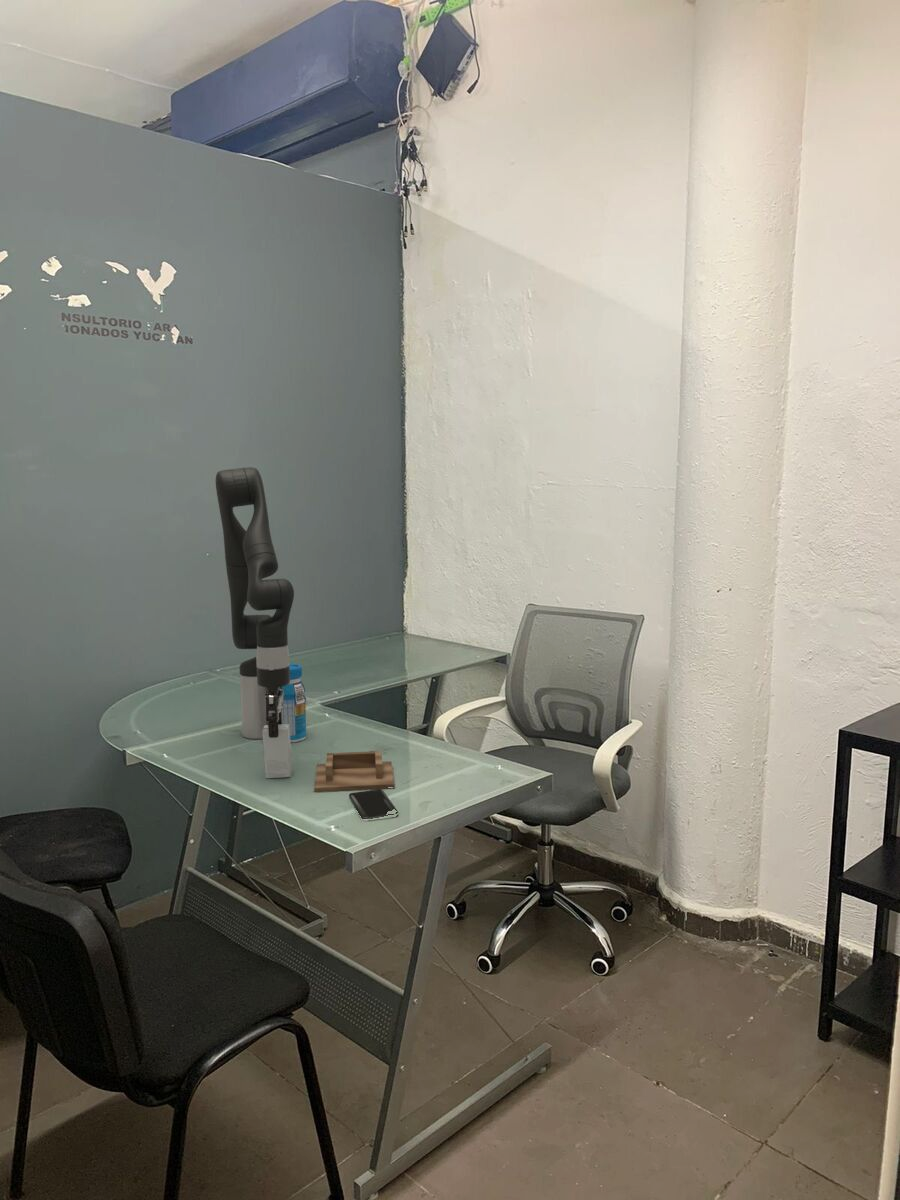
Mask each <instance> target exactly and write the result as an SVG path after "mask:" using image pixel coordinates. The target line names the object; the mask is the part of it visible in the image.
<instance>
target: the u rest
mask: <svg viewBox="0 0 900 1200" xmlns="http://www.w3.org/2000/svg"><path fill="white" fill-rule="evenodd" d="M325 759H326V760H325V763H320V764H319V763H318V764H316V772H315V778H314V787H313V788H314V789H313V791H314V793H321V792H323V793H326V792H345V791H349V792H350V791H368V790H367V789H371V790H380V789H379V788H388V787H394V788H395V781H394V779H395V778H394V771H393V764H392V761H391V760H389V761H387V760H386V761H383V757H382V750H376V751H375V750H374V751H355V752H354V751H351V752H350V751H349V752H329V753H328V752H326V758H325Z"/></svg>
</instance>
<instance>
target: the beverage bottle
mask: <svg viewBox="0 0 900 1200" xmlns="http://www.w3.org/2000/svg"><path fill="white" fill-rule="evenodd" d="M289 665H290V683H289V684H288V685H286V686H282V691H283V693H284V694H283V710H282V724H289V727H290V743H296V742H297V743H298V742H301V741H303V740H305V739H306V738H307V714H306V712H307V710H306V709H307V707H306V703H307V698H306V696H305V692H306V688H305V685H304V684H303V682H302V681H301V679H303V678H302V677H303V668H302V665H300V664H298V663H297V664H296V663H289Z"/></svg>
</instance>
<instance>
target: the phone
mask: <svg viewBox="0 0 900 1200" xmlns="http://www.w3.org/2000/svg"><path fill="white" fill-rule="evenodd" d="M348 799H349V800H350V803H351V804H352V806H353V805H354V806H353V807H354V809H355V808H356V809H355V811H356V810H357V811H358V813H359V814H358V813H357V814H358V816H359V815H360V816H361V818H362V819H373V818H379V817H384V816H388V815H394V814H388V815H386V814H387V812H388V811H392V810H393V809H395V810H396V811H397V812H396V813H395V814H397V813H398V814H399V811H398V810H397V808H396V806H394V804H393V802H392V801H391V800H390V798H389V797H388V796H387V794H386V793H385V790H384V789H371V790H361V791H356V792H350V793H348ZM357 811H356V812H357ZM360 816H359V817H360ZM361 818H360V819H361Z"/></svg>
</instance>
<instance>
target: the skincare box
mask: <svg viewBox="0 0 900 1200" xmlns="http://www.w3.org/2000/svg"><path fill="white" fill-rule="evenodd" d="M278 730H279V735H278V737H277V738H270V737H269V731H268V725H264V728H263V731H262V732H263V738H262V741H263V743H262V744H263V745H262V746H263V755H264V756H263V759H264V776H265V779H276V778H277V779H279V778H291V776H292V774H293V766H292V765H293V764H292V749H291V742H290V727H289V724H281V725H278Z"/></svg>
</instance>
